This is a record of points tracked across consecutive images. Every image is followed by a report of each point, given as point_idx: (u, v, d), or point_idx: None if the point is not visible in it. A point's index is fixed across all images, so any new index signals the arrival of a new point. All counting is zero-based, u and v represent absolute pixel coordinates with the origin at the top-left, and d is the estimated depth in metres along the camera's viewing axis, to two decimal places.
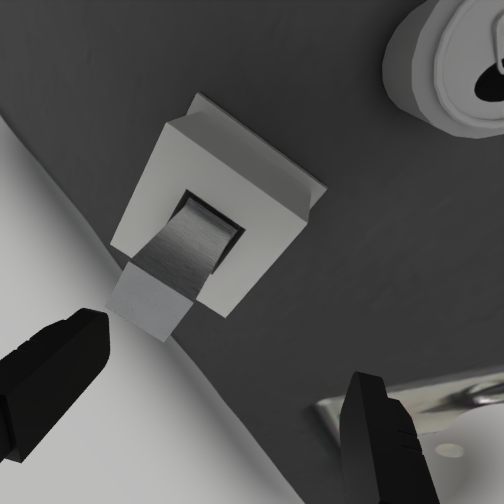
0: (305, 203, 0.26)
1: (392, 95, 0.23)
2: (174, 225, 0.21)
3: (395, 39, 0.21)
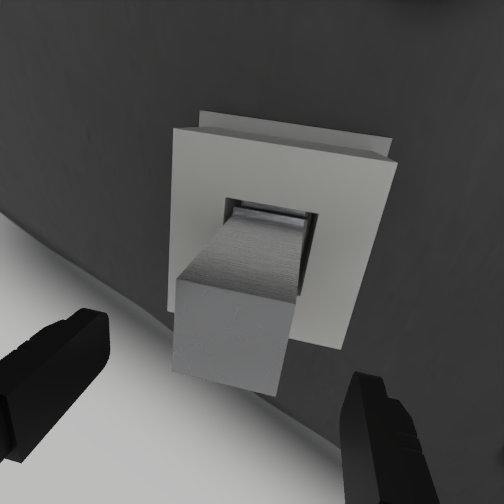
0: (377, 155, 0.19)
1: None
2: (226, 233, 0.15)
3: None
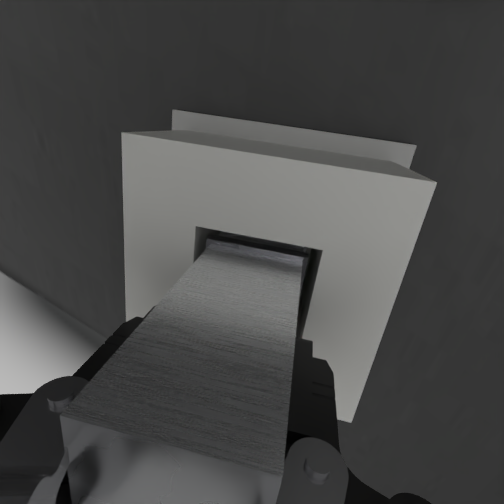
0: (401, 168, 0.14)
1: None
2: (186, 287, 0.10)
3: None
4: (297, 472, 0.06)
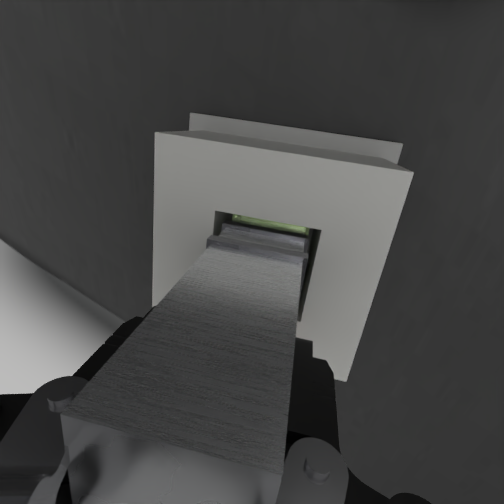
0: (387, 162, 0.17)
1: None
2: (186, 287, 0.10)
3: None
4: (297, 472, 0.06)
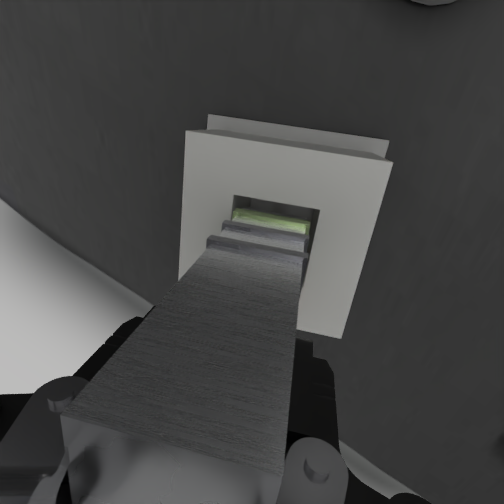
0: (374, 156, 0.21)
1: None
2: (186, 287, 0.10)
3: None
4: (297, 472, 0.06)
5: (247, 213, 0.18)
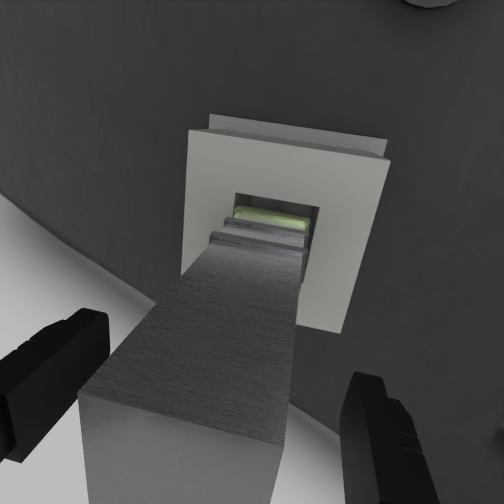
0: (373, 154, 0.21)
1: None
2: (191, 279, 0.11)
3: None
4: None
5: (248, 210, 0.19)
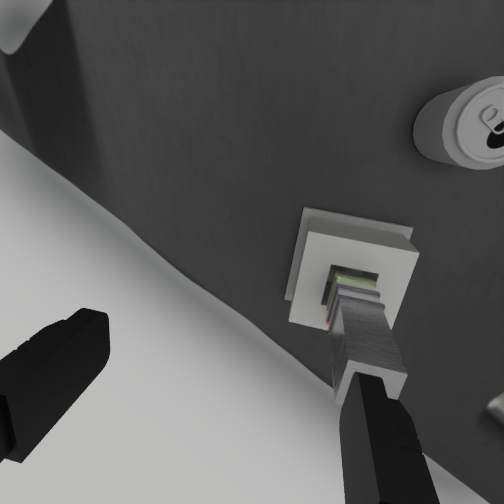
0: (407, 242, 0.38)
1: (432, 158, 0.35)
2: (347, 322, 0.27)
3: (419, 132, 0.35)
4: None
5: (342, 277, 0.35)
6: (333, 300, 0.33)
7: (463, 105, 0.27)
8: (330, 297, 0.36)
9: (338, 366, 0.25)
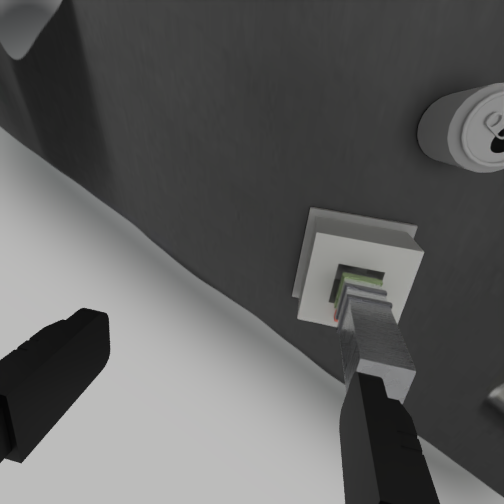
0: (411, 241, 0.39)
1: (436, 159, 0.36)
2: (357, 321, 0.28)
3: (424, 134, 0.35)
4: None
5: (350, 276, 0.36)
6: (341, 299, 0.35)
7: (468, 111, 0.28)
8: (338, 295, 0.37)
9: (349, 364, 0.26)
